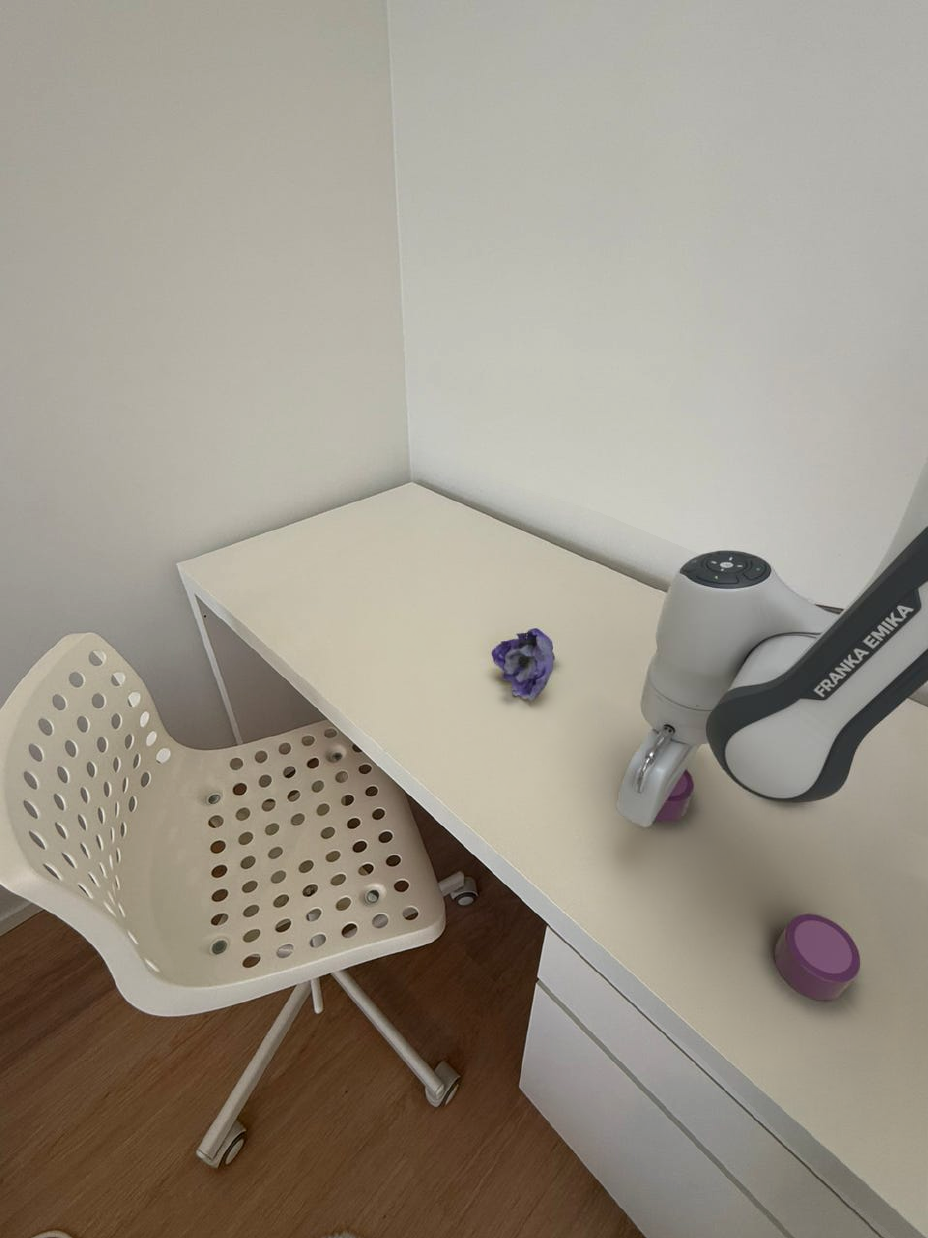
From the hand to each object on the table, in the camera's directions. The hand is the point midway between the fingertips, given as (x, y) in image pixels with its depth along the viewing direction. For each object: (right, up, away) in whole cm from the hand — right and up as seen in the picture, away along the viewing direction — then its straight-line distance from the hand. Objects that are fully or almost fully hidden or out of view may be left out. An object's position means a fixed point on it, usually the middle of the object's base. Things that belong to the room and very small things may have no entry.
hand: (662, 789), depth 72 cm
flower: (-13, +11, +17) cm, 24 cm away
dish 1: (0, -1, +1) cm, 2 cm away
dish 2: (+9, -12, -14) cm, 21 cm away
